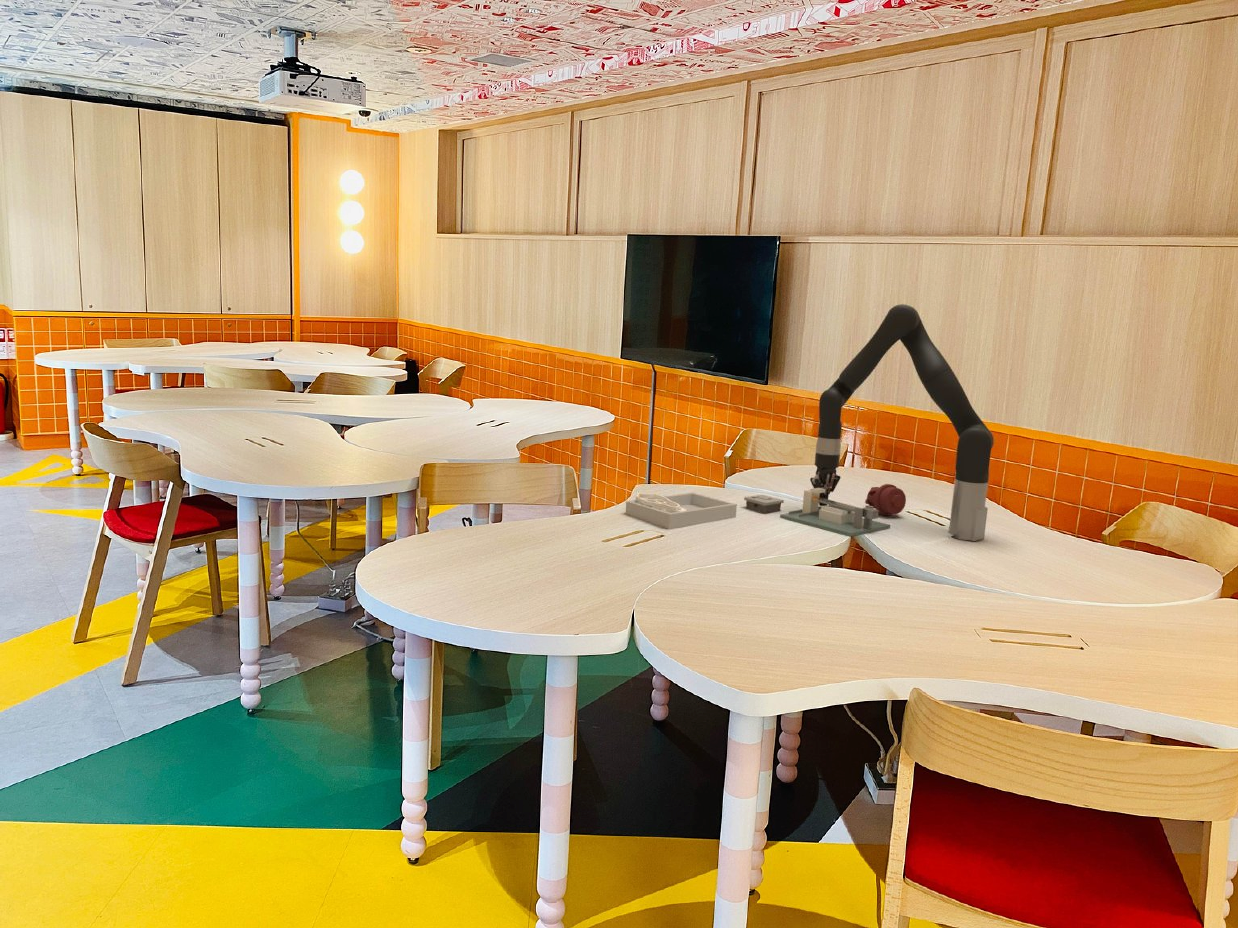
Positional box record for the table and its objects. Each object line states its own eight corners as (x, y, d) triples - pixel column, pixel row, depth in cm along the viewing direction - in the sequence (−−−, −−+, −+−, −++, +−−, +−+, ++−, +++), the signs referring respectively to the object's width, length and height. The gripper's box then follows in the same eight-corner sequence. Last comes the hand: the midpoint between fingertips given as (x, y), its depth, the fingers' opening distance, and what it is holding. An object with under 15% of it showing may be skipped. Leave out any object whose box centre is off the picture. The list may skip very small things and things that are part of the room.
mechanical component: (859, 512, 304) (860, 482, 303) (883, 511, 308) (884, 481, 307) (885, 518, 293) (886, 486, 292) (909, 516, 297) (911, 485, 296)
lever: (878, 518, 275) (879, 510, 275) (871, 519, 273) (872, 511, 272) (818, 501, 291) (818, 494, 291) (811, 502, 289) (812, 495, 289)
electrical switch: (742, 497, 297) (761, 489, 302) (743, 512, 298) (762, 504, 304) (765, 503, 290) (784, 495, 295) (765, 518, 291) (785, 510, 297)
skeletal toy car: (690, 531, 272) (692, 506, 270) (655, 533, 268) (657, 508, 266) (662, 515, 290) (664, 492, 289) (629, 516, 286) (631, 493, 285)
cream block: (823, 514, 291) (825, 489, 290) (815, 515, 289) (817, 490, 288) (810, 511, 295) (812, 486, 294) (802, 512, 293) (804, 487, 291)
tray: (735, 518, 285) (736, 504, 284) (669, 529, 266) (670, 514, 266) (691, 505, 299) (692, 492, 298) (625, 515, 280) (626, 501, 280)
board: (890, 528, 282) (892, 505, 281) (850, 536, 269) (852, 512, 268) (820, 510, 301) (822, 489, 300) (780, 517, 288) (781, 495, 287)
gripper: (824, 455, 287) (819, 510, 290) (850, 452, 295) (845, 505, 298) (805, 451, 292) (800, 505, 295) (831, 448, 301) (826, 501, 304)
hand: (823, 505), depth 297 cm, fingers closed
